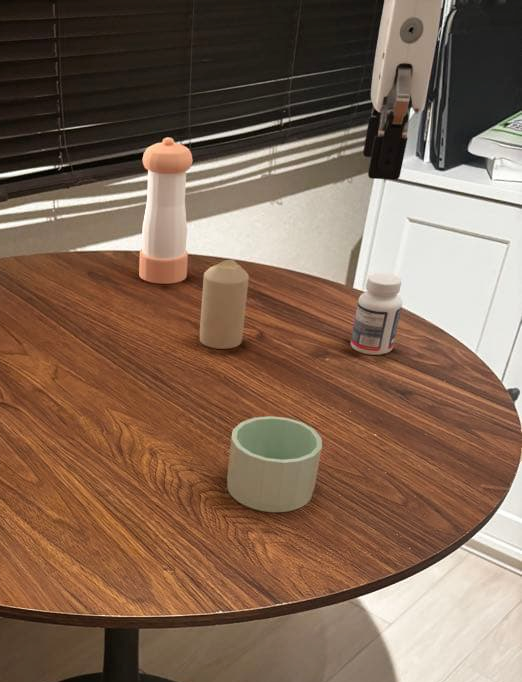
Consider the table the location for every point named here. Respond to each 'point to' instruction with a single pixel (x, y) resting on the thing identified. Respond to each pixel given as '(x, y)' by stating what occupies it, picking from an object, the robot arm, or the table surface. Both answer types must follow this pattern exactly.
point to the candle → (223, 305)
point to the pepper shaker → (165, 213)
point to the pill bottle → (377, 315)
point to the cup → (273, 463)
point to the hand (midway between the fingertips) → (379, 167)
